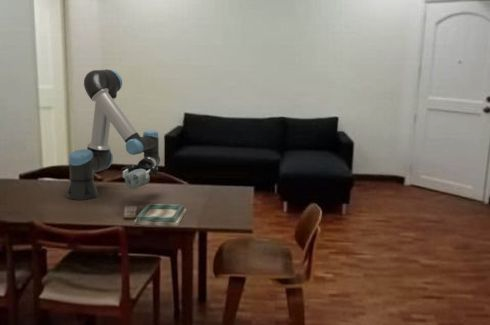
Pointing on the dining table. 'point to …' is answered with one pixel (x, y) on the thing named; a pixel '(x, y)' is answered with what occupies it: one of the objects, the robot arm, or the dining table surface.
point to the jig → (161, 215)
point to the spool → (136, 178)
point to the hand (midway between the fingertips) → (134, 175)
